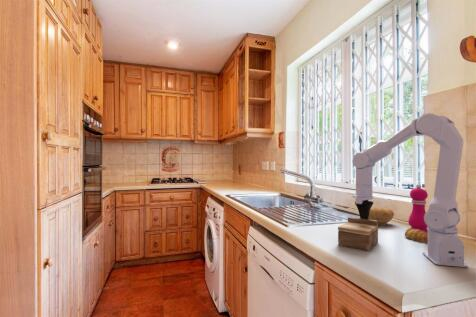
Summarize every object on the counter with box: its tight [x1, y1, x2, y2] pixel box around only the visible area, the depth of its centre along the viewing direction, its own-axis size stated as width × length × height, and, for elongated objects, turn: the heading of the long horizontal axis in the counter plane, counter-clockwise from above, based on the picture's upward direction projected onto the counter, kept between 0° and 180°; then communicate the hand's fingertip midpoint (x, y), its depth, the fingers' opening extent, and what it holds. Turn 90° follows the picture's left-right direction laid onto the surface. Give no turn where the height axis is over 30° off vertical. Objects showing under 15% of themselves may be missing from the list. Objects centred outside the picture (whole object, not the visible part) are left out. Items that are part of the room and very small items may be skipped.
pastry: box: [404, 227, 428, 244], centre depth 99 cm, size 9×7×4 cm
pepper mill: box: [408, 183, 429, 233], centre depth 107 cm, size 7×7×20 cm
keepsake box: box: [337, 228, 379, 253], centre depth 94 cm, size 12×10×5 cm
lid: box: [337, 216, 379, 236], centre depth 94 cm, size 12×10×3 cm
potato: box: [368, 206, 395, 226], centre depth 122 cm, size 10×14×8 cm
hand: (364, 220), depth 100 cm, fingers closed
